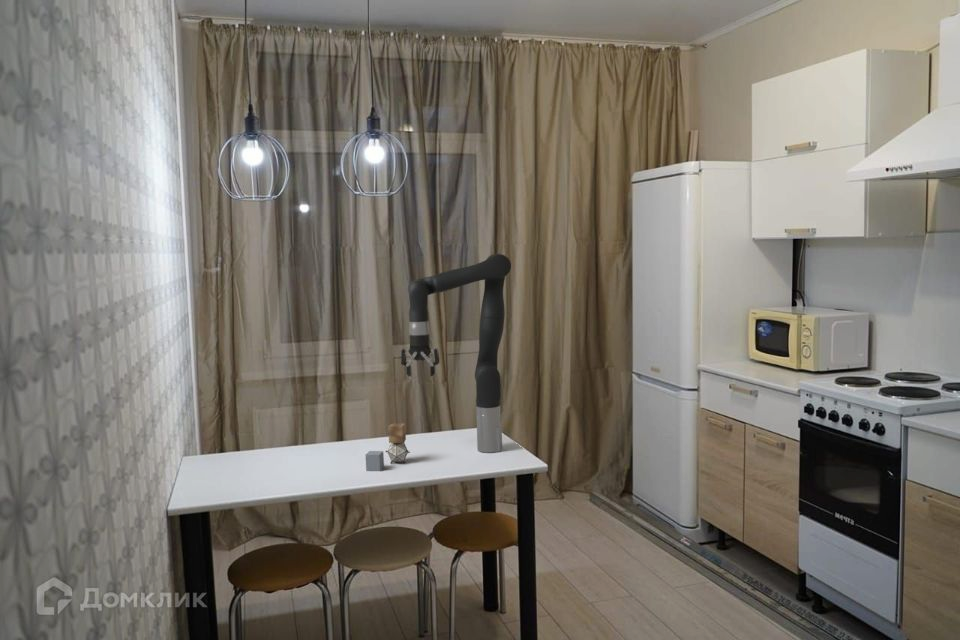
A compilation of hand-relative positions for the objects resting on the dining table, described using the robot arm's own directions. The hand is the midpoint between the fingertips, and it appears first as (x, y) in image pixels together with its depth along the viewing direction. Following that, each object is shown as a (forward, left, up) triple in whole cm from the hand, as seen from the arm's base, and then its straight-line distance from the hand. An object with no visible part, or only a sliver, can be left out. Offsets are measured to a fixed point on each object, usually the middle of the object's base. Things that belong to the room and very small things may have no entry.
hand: (420, 376), depth 284 cm
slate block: (+13, +20, -30) cm, 38 cm away
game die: (+7, +11, -30) cm, 33 cm away
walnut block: (+7, +11, -22) cm, 26 cm away
